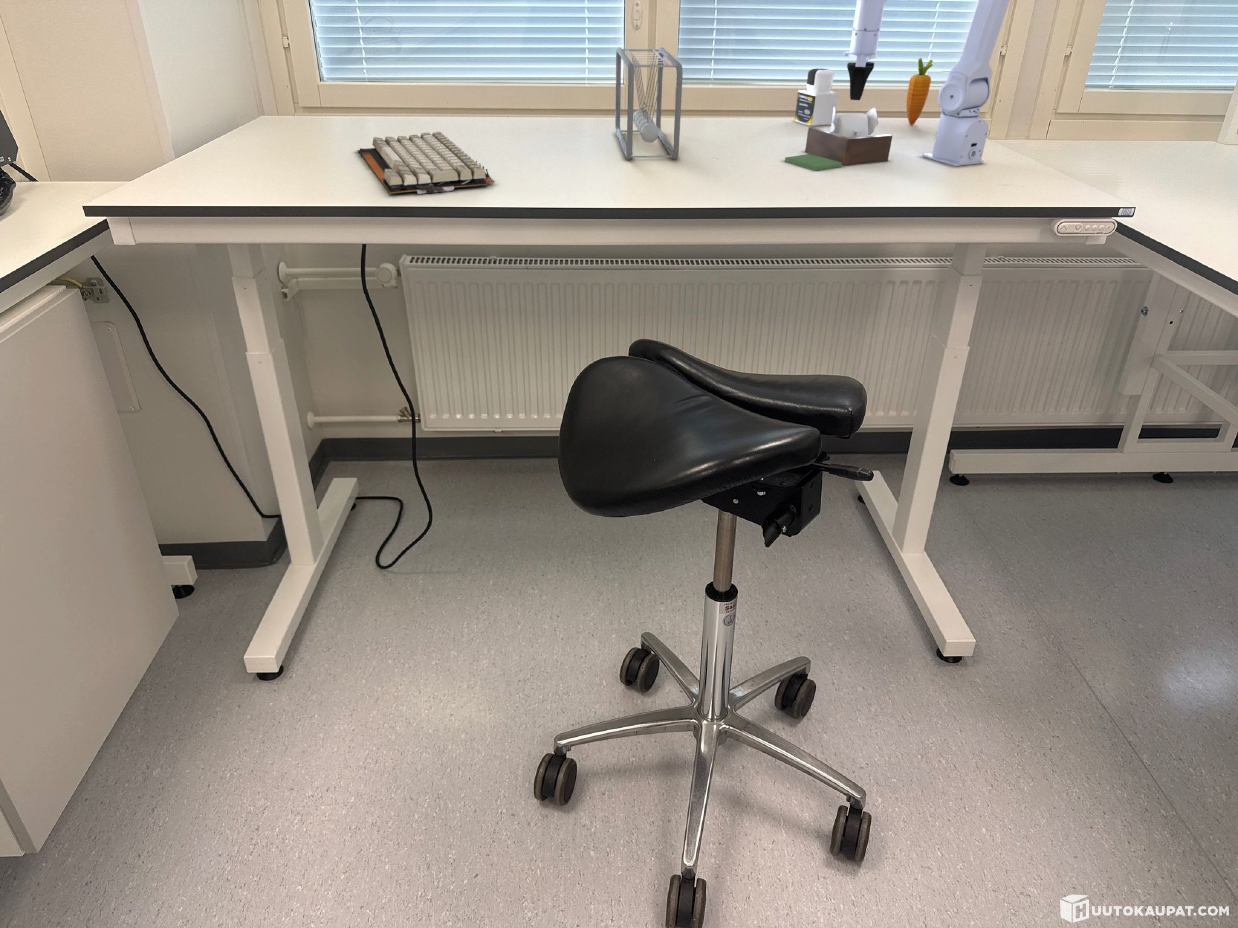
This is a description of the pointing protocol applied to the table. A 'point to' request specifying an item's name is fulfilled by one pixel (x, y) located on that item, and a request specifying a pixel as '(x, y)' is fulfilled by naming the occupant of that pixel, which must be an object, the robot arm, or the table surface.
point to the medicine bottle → (817, 99)
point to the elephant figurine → (854, 123)
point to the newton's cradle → (641, 116)
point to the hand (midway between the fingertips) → (855, 99)
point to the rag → (813, 162)
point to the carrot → (918, 92)
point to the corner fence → (848, 147)
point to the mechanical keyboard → (423, 164)
